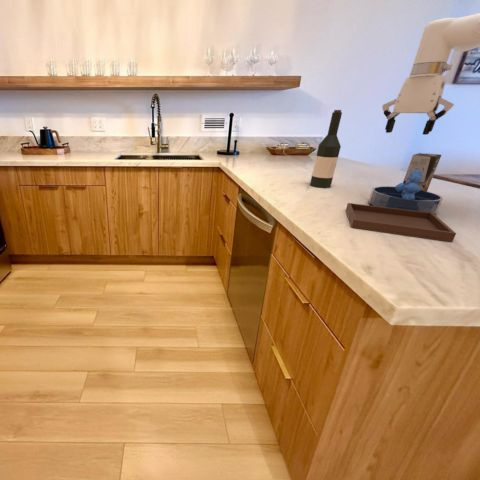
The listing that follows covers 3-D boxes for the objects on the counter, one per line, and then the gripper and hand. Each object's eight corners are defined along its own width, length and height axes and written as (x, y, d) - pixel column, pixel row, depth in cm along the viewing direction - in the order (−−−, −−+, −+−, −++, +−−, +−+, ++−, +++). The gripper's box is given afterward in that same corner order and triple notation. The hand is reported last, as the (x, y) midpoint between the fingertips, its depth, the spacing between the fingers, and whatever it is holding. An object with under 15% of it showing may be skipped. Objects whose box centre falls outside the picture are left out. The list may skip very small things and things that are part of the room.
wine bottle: (306, 185, 124) (322, 109, 112) (313, 182, 130) (329, 109, 117) (327, 189, 119) (346, 110, 106) (333, 185, 124) (353, 110, 112)
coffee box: (418, 204, 100) (436, 156, 93) (395, 200, 105) (412, 154, 98) (424, 199, 105) (442, 154, 98) (403, 195, 110) (419, 152, 103)
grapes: (390, 200, 102) (401, 166, 97) (414, 203, 98) (427, 168, 93) (387, 207, 94) (399, 171, 89) (413, 212, 90) (428, 174, 85)
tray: (429, 220, 86) (432, 212, 85) (452, 242, 71) (456, 233, 70) (345, 209, 94) (347, 202, 93) (351, 227, 80) (353, 219, 79)
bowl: (426, 203, 100) (431, 189, 98) (445, 220, 86) (452, 204, 83) (364, 197, 108) (368, 184, 106) (372, 211, 93) (377, 196, 91)
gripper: (471, 69, 79) (445, 134, 86) (397, 74, 92) (380, 131, 99) (463, 67, 75) (437, 135, 82) (387, 73, 88) (370, 132, 96)
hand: (406, 133), depth 91 cm, fingers open, 9 cm apart
